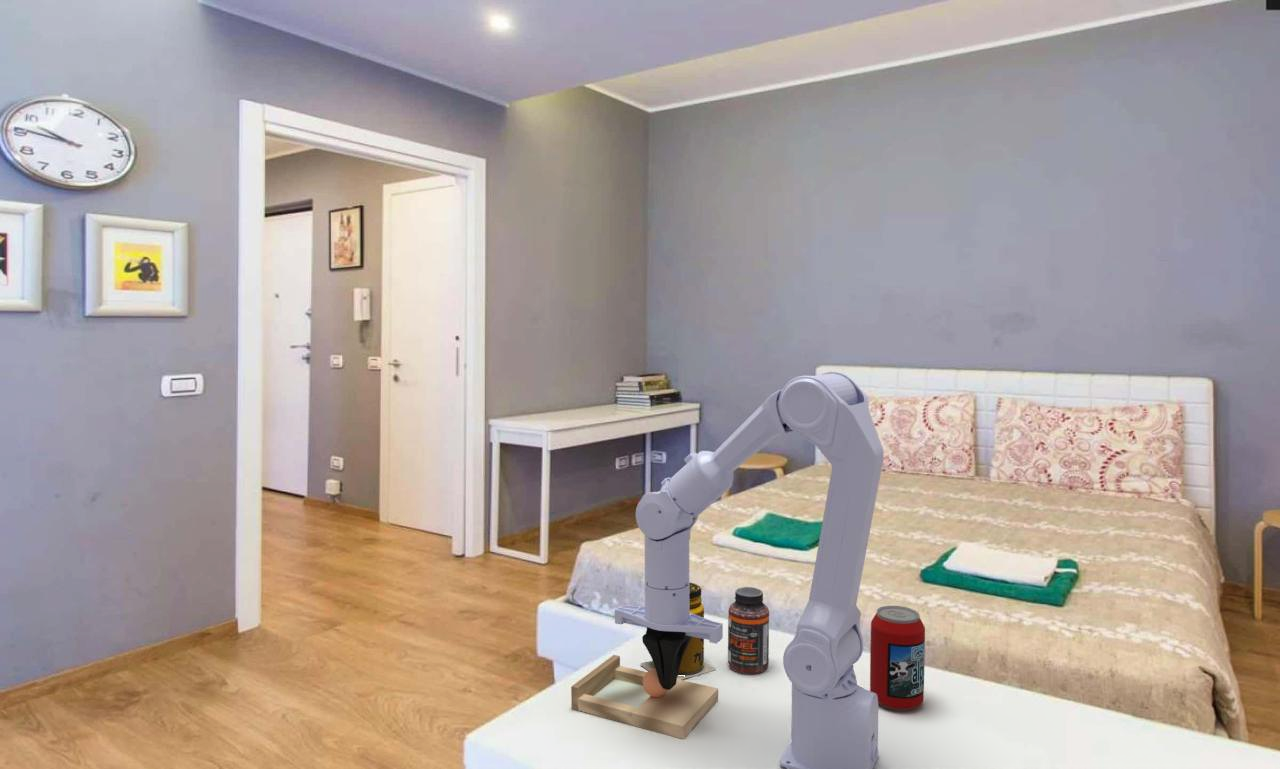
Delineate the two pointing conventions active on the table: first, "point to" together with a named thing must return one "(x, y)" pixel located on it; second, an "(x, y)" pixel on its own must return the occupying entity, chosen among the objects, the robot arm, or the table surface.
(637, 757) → the table surface
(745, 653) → the supplement bottle
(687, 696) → the board
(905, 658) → the beverage can
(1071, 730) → the table surface
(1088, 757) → the table surface
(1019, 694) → the table surface
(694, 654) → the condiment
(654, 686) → the ball
